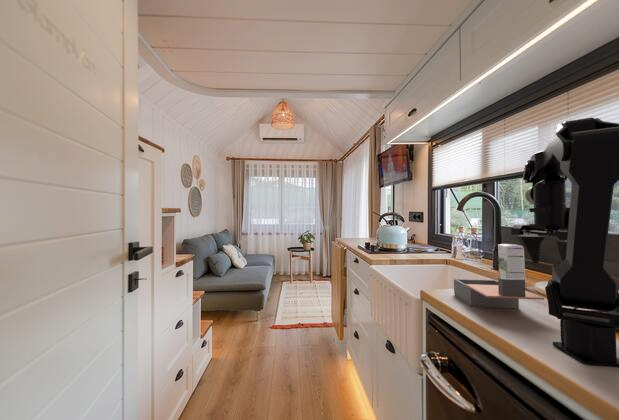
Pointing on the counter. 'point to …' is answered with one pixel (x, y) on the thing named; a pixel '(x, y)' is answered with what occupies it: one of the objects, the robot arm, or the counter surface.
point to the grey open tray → (478, 299)
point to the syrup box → (511, 261)
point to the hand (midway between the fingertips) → (550, 266)
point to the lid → (505, 289)
